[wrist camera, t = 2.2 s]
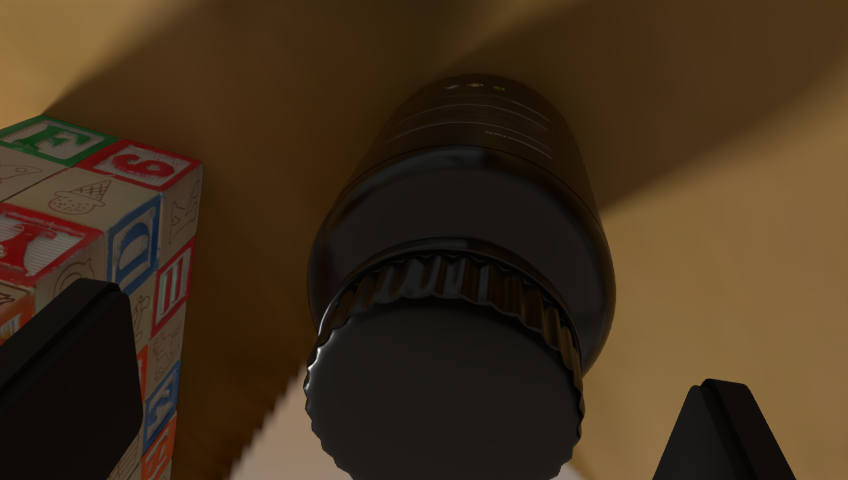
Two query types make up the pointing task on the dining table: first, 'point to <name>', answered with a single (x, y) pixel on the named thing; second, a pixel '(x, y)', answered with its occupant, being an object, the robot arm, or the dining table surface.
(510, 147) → the supplement bottle
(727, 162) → the dining table surface
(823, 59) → the dining table surface
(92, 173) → the stack of blocks
